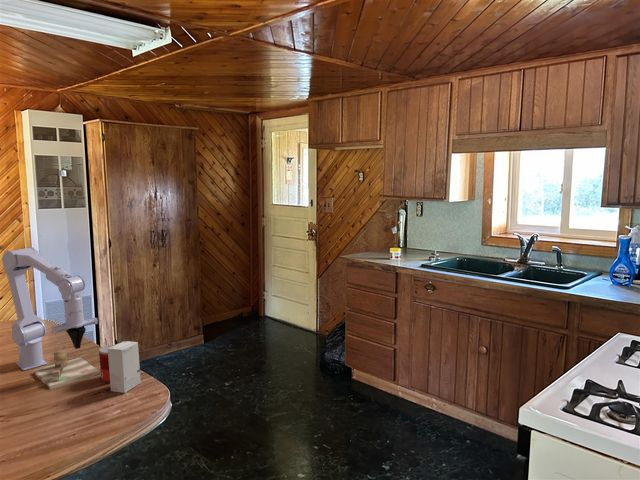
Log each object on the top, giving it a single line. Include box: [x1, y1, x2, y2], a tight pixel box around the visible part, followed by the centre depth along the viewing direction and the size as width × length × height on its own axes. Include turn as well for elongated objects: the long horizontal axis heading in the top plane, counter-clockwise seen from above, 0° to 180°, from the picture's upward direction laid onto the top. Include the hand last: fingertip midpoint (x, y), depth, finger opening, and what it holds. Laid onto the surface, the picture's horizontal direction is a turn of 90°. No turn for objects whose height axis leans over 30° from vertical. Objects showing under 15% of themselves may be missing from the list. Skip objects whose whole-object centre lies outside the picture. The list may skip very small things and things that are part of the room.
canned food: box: [98, 343, 117, 384], centre depth 162 cm, size 8×8×11 cm
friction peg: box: [52, 349, 68, 381], centre depth 165 cm, size 15×4×5 cm, turn 22°
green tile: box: [50, 376, 67, 382], centre depth 160 cm, size 5×3×1 cm, turn 114°
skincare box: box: [108, 340, 142, 394], centre depth 155 cm, size 8×6×15 cm
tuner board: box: [33, 356, 101, 390], centre depth 167 cm, size 18×16×1 cm
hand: (77, 347), depth 165 cm, fingers closed
